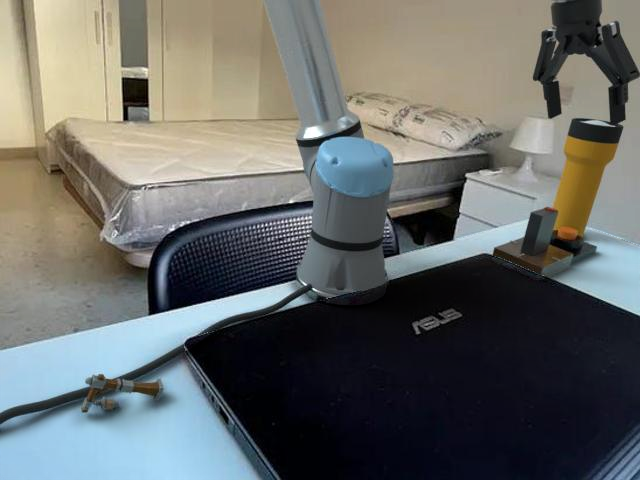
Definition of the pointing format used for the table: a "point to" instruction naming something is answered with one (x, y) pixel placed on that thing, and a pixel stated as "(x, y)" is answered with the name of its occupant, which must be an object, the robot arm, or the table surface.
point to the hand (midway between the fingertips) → (584, 119)
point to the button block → (573, 246)
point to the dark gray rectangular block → (539, 230)
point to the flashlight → (584, 169)
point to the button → (567, 233)
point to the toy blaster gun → (123, 386)
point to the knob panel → (535, 258)
